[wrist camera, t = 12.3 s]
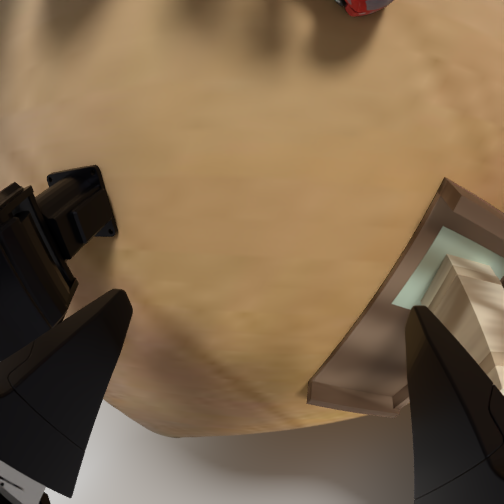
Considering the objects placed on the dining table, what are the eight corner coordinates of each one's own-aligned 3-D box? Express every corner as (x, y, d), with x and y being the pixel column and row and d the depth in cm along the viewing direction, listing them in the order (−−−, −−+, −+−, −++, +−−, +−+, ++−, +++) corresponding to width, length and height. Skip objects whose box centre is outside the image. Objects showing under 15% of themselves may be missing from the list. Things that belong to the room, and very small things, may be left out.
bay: (392, 397, 33) (394, 417, 30) (308, 381, 33) (306, 403, 30) (535, 236, 17) (551, 256, 15) (444, 177, 17) (461, 195, 15)
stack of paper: (419, 301, 23) (449, 432, 13) (446, 253, 20) (502, 387, 10) (463, 309, 22) (499, 426, 13) (490, 265, 19) (548, 384, 10)
